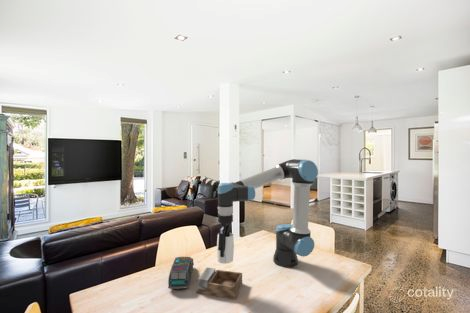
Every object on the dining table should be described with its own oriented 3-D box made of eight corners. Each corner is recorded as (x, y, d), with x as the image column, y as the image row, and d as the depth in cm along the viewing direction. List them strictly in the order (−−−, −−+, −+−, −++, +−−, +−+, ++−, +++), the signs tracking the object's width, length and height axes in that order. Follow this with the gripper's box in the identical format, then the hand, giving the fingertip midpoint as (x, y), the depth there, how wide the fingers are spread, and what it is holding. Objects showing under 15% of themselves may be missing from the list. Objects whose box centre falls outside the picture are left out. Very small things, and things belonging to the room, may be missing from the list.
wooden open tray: (242, 283, 126) (242, 271, 126) (235, 299, 112) (235, 285, 112) (206, 278, 131) (206, 266, 131) (196, 292, 117) (196, 279, 117)
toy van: (194, 267, 144) (193, 250, 144) (188, 291, 119) (188, 271, 119) (176, 267, 143) (176, 251, 143) (167, 292, 118) (167, 272, 118)
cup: (214, 260, 123) (214, 232, 122) (230, 257, 126) (230, 230, 126) (220, 267, 115) (220, 238, 115) (236, 264, 118) (236, 236, 118)
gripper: (224, 208, 131) (224, 249, 132) (211, 219, 111) (211, 267, 111) (237, 209, 129) (237, 251, 130) (226, 220, 109) (226, 269, 109)
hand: (225, 258), depth 120 cm, fingers closed on cup, 8 cm apart
